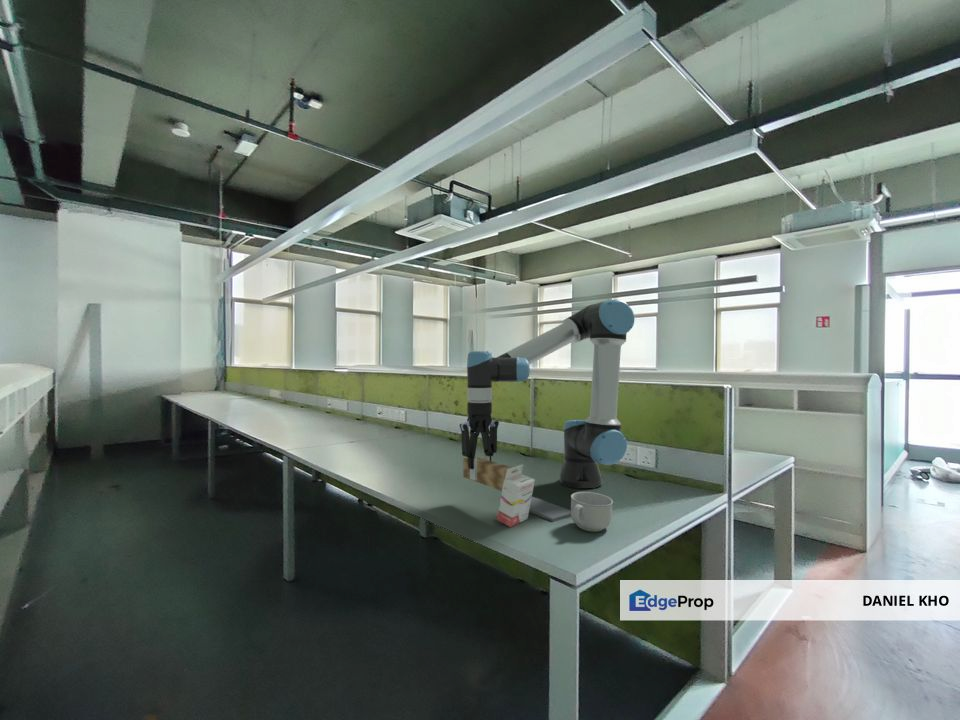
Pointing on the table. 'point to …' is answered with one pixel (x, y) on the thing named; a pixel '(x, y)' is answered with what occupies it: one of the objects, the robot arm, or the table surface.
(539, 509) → the tool mat
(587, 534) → the table surface
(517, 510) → the ink cartridge box
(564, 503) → the table surface
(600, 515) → the teacup
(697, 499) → the table surface
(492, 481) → the oak stick
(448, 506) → the table surface
